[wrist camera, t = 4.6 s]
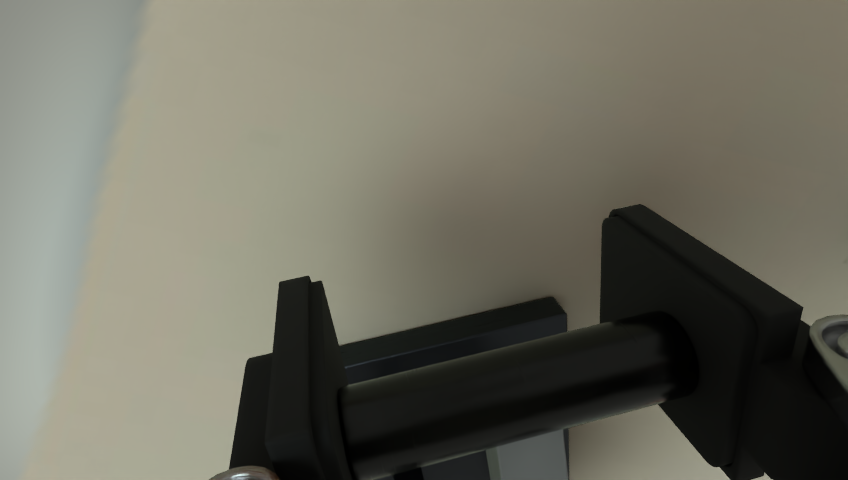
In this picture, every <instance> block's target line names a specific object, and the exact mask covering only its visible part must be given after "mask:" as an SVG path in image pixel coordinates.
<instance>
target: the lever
mask: <svg viewBox="0 0 848 480" xmlns="http://www.w3.org/2000/svg"><path fill="white" fill-rule="evenodd" d="M698 382H699V366H698V360H697V356H696V353H695V350H694V347H693V345H692V342H691V340H690V338H689V336H688V335H687V333H686V331H685V330H684V328H683V327H682V326H681V324H680V323H679V322H678V321H677V320H676V319H675V318H674V317H673V316H671V315H670V314H668V313H666V312H663V311H658V310H656V311H651V312H647V313H642V314H638V315H634V316H630V317H626V318H622V319H618V320H614V321H610V322H605V323H601V324H597V325H593V326H589V327H585V328H581V329H577V330H573V331H569V332H564V333H560V334H556V335H552V336H548V337H544V338H540V339H536V340H532V341H527V342H523V343H519V344H515V345H511V346H507V347H503V348H499V349H495V350H490V351H486V352H482V353H478V354H474V355H470V356H466V357H462V358H458V359H454V360H449V361H445V362H441V363H437V364H433V365H429V366H425V367H421V368H417V369H412V370H408V371H404V372H400V373H396V374H392V375H388V376H384V377H380V378H375V379H371V380H367V381H363V382H359V383H355V384H351V385H347V386H343V387H340V388H339V389H338V393H337V403H338V413H339V421H340V427H341V433H342V439H343V444H344V449H345V453H346V458H347V462H348V466H349V470H350V473H351V476H352V478H353V480H375V479H379V478H383V477H387V476H390V475H394V474H398V473H402V472H405V471H409V470H413V469H417V468H420V467H424V466H428V465H432V464H435V463H439V462H443V461H447V460H450V459H454V458H458V457H462V456H465V455H469V454H473V453H477V452H480V451H484V450H486V455H487V461H488V467H489V473H490V479H491V480H568V471H567V462H566V453H565V444H564V436H563V429H566V428H570V427H574V426H578V425H581V424H585V423H589V422H593V421H596V420H600V419H604V418H608V417H611V416H615V415H619V414H623V413H626V412H630V411H634V410H638V409H641V408H645V407H649V406H653V405H656V404H660V403H664V402H668V401H671V400H675V399H679V398H683V397H686V396H689V395H691V394H692V393H693V392H694V391H695V390H696V388H697V385H698Z"/></svg>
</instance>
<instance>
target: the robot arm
mask: <svg viewBox="0 0 848 480" xmlns="http://www.w3.org/2000/svg"><path fill="white" fill-rule="evenodd" d="M656 310H658V311H663V312H666V313H668V314H670V315H671V316H673V317H674V318H675V319H676V320H677V321H678V322H679V323H680V324H681V326H682V327H683V328H684V330H685V331H686V333H687V335H688V336H689V338H690V340H691V342H692V345H693V347H694V350H695V353H696V356H697V360H698V366H699V382H698V385H697V388H696V390H695V391H694V392H693V393H692V394H691V395H689V396H686V397H683V398H679V399H675V400H671V401H668V402H664V403H660V404H658V405H659V406H660V407H661V408H662V410H663V411H664V412H665V413H666V414H667V416H668V417H669V418H670V419H671V420H672V421H673V423H674V424H675V425H676V426H677V427H678V429H679V430H680V431H681V432H682V433H683V434H684V436H685V437H686V438H687V439H688V440H689V442H690V443H691V444H692V445H693V446H694V447H695V449H696V450H697V451H698V452H699V453H700V454H701V456H702V457H703V458H704V459H705V460H706V461H707V462H708V463H709V464H710V465H711V466H713V467H720V468H721V469H722V470H723V471H724V473H725V474H726V475H727V476H728V477H729V478H730V480H751V479H755V478H758V477H761V476H764V472H765V473H766V474H767V475H768V476H769V477H770V478H771V479H773V480H848V315H833V316H827V317H824V318H821V319H819V320H816V321H815V322H814V323H813V325H812V326H809V325H808V324H806V323H805V322H803V321H802V320H800V319H801V315H802V311H803V307H802V306H800V305H799V304H797V303H796V302H794V301H792V300H791V299H789V298H788V297H786V296H785V295H783V294H781V293H780V292H778V291H777V290H775V289H774V288H772V287H771V286H769V285H767V284H766V283H764V282H763V281H761V280H760V279H758V278H756V277H755V276H753V275H752V274H750V273H749V272H747V271H746V270H744V269H742V268H741V267H739V266H738V265H736V264H735V263H733V262H732V261H730V260H728V259H727V258H725V257H724V256H722V255H721V254H719V253H717V252H716V251H714V250H713V249H711V248H710V247H708V246H707V245H705V244H703V243H702V242H700V241H699V240H697V239H696V238H694V237H692V236H691V235H689V234H688V233H686V232H685V231H683V230H682V229H680V228H678V227H677V226H675V225H674V224H672V223H671V222H669V221H667V220H666V219H664V218H663V217H661V216H660V215H658V214H657V213H655V212H653V211H652V210H650V209H649V208H647V207H646V206H644V205H641V204H638V205H633V206H628V207H624V208H619V209H614V210H612V211H611V212H610V215H609V218H606V219H604V221H603V223H602V247H601V289H600V324H601V323H605V322H610V321H614V320H618V319H622V318H626V317H630V316H634V315H638V314H642V313H647V312H651V311H656ZM347 385H349V383H348V379H347V375H346V371H345V367H344V364H343V360H342V356H341V352H340V348H339V344H338V341H337V337H336V333H335V329H334V325H333V321H332V318H331V314H330V310H329V306H328V302H327V299H326V295H325V291H324V287H323V284H322V281H316V282H311V279H310V277H309V276H304V277H300V278H295V279H290V280H286V281H281V282H279V290H278V301H277V311H276V322H275V333H274V344H273V353H270V354H266V355H261V356H257V357H253V358H249V359H248V360H247V363H246V367H245V373H244V379H243V385H242V392H241V398H240V404H239V410H238V416H237V423H236V429H235V435H234V441H233V448H232V454H231V460H230V466H229V470H227V471H225V472H222V473H220V474H217V475H215V476H214V477H212V478H211V479H209V480H353V478H352V476H351V473H350V470H349V466H348V462H347V458H346V453H345V449H344V444H343V439H342V433H341V427H340V421H339V413H338V403H337V393H338V389H339V388H340V387H343V386H347Z"/></svg>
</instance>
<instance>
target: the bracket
mask: <svg viewBox="0 0 848 480" xmlns="http://www.w3.org/2000/svg"><path fill="white" fill-rule="evenodd" d="M564 332H567V314H566V312H565V311H564V310H563V308H562V307H561V306H560V305H559V304H558V302H557V301H556V300H555V299H554V298H553V297H549V298H545V299H541V300H537V301H532V302H528V303H524V304H519V305H515V306H511V307H507V308H502V309H498V310H494V311H490V312H485V313H481V314H477V315H472V316H468V317H464V318H460V319H455V320H451V321H447V322H443V323H438V324H434V325H430V326H425V327H421V328H417V329H413V330H408V331H404V332H400V333H396V334H391V335H387V336H383V337H378V338H374V339H370V340H366V341H361V342H357V343H353V344H349V345H344V346H340V347H339V348H340V352H341V356H342V360H343V364H344V367H345V371H346V375H347V379H348V383H349V385H351V384H355V383H359V382H363V381H367V380H371V379H375V378H380V377H384V376H388V375H392V374H396V373H400V372H404V371H408V370H412V369H417V368H421V367H425V366H429V365H433V364H437V363H441V362H445V361H449V360H454V359H458V358H462V357H466V356H470V355H474V354H478V353H482V352H486V351H490V350H495V349H499V348H503V347H507V346H511V345H515V344H519V343H523V342H527V341H532V340H536V339H540V338H544V337H548V336H552V335H556V334H560V333H564ZM563 436H564V444H565V453H566V462H567V471H568V480H569V428H566V429H563ZM375 480H491V479H490V473H489V467H488V461H487V455H486V450H484V451H480V452H477V453H473V454H469V455H465V456H462V457H458V458H454V459H450V460H447V461H443V462H439V463H435V464H432V465H428V466H424V467H420V468H417V469H413V470H409V471H405V472H402V473H398V474H394V475H390V476H387V477H383V478H379V479H375Z"/></svg>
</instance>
